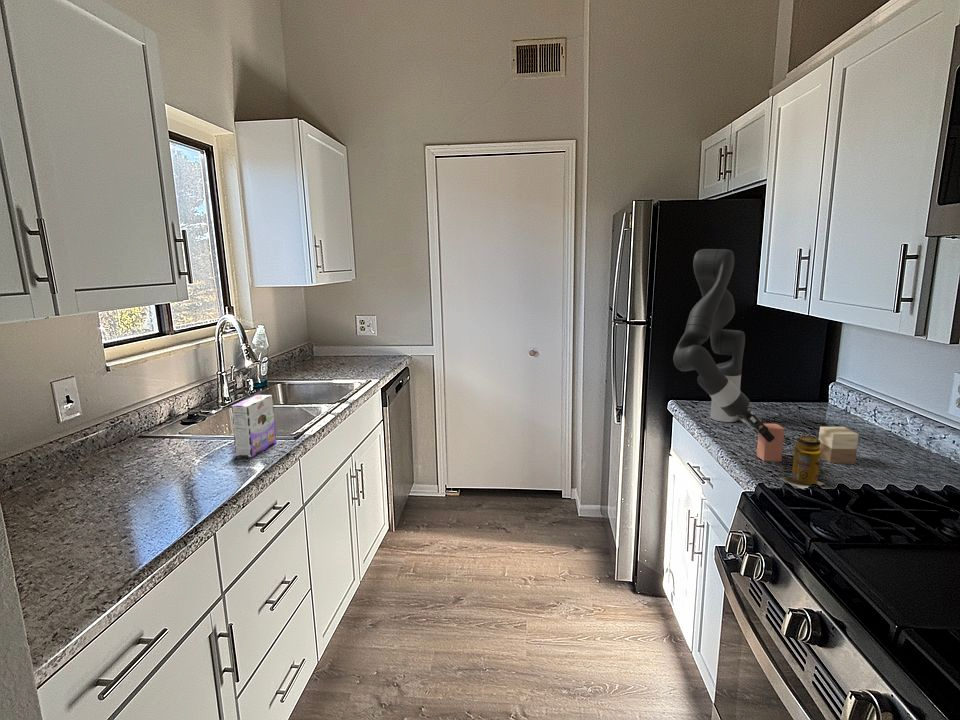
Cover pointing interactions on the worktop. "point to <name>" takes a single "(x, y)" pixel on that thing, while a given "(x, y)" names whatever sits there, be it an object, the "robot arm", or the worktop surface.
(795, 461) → the condiment
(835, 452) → the tower base
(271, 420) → the candy box
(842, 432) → the tower top
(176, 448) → the worktop surface
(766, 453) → the tall block
